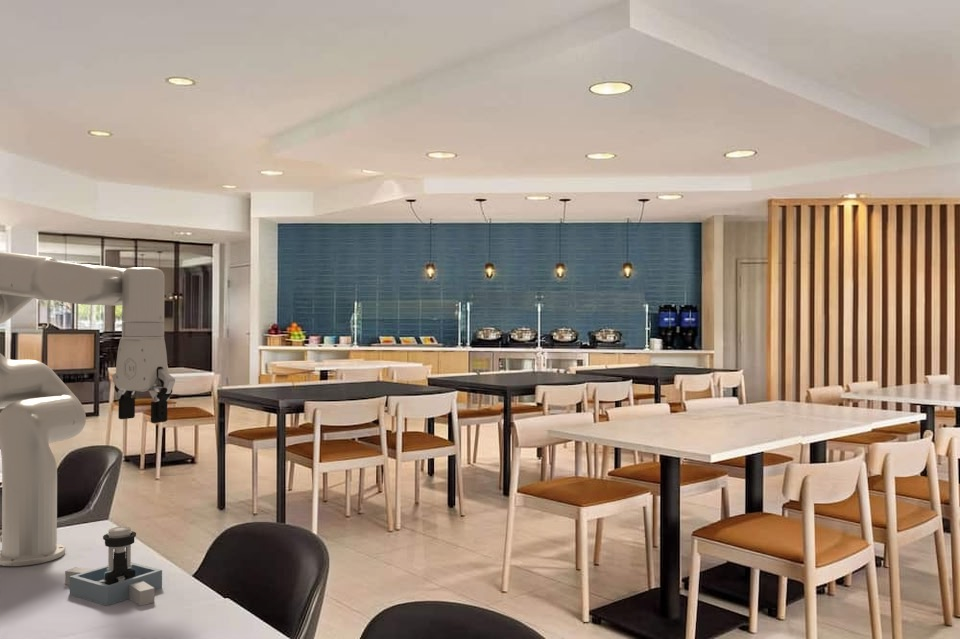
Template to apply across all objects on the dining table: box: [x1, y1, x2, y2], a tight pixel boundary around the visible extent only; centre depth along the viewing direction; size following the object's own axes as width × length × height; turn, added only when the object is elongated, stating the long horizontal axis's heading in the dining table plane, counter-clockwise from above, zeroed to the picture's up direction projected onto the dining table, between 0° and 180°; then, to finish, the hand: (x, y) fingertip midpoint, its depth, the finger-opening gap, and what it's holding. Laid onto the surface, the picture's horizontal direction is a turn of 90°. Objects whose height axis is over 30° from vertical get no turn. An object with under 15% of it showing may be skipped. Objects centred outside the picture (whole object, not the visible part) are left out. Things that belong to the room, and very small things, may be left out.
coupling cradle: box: [64, 561, 163, 607], centre depth 138 cm, size 22×11×3 cm, turn 60°
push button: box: [96, 526, 137, 585], centre depth 138 cm, size 7×5×10 cm
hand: (142, 420), depth 151 cm, fingers open, 9 cm apart
